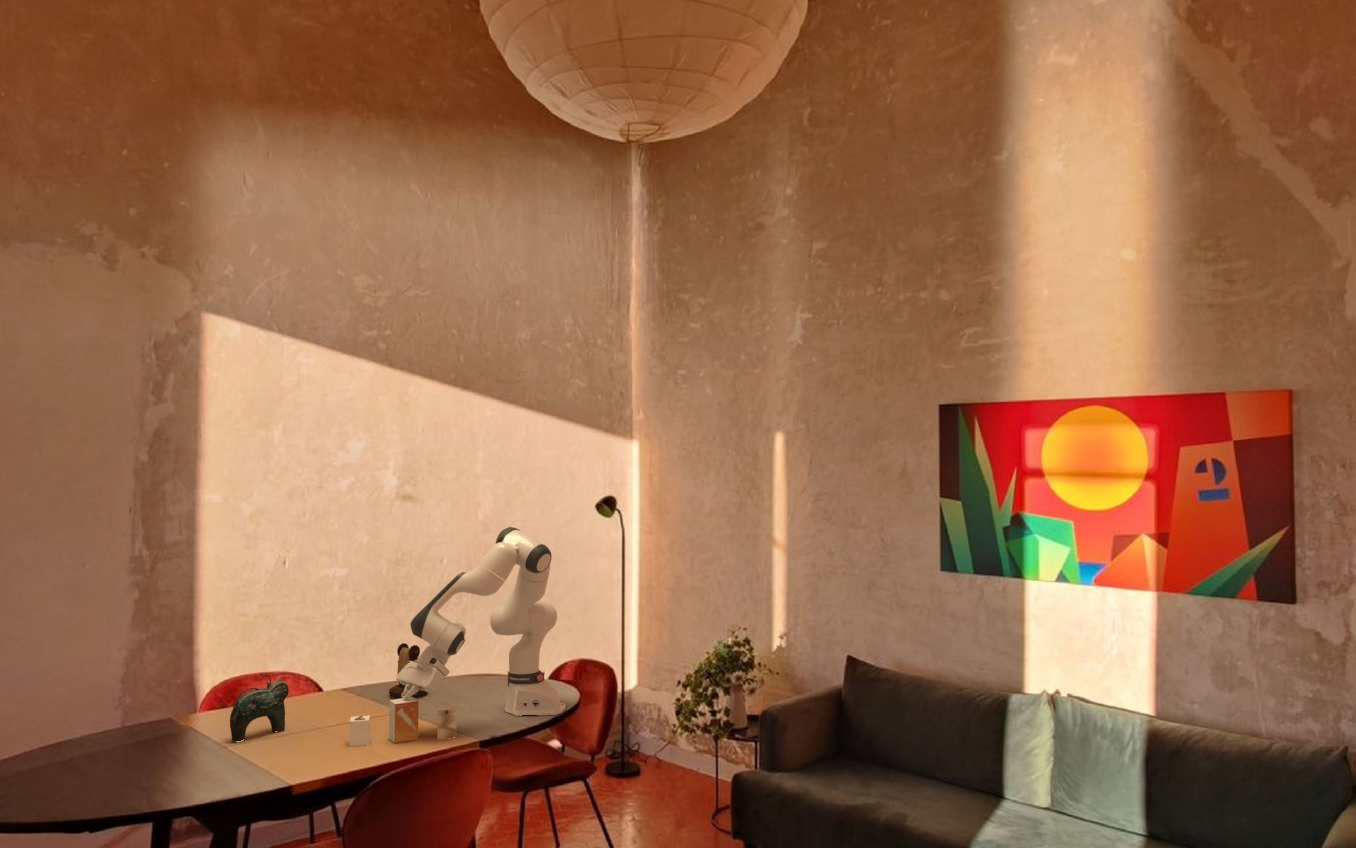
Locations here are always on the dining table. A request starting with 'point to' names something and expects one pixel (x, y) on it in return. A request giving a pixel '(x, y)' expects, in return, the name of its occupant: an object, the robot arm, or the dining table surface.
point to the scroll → (404, 658)
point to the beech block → (446, 724)
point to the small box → (403, 720)
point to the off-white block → (359, 730)
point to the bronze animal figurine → (259, 708)
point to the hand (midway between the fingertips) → (404, 697)
